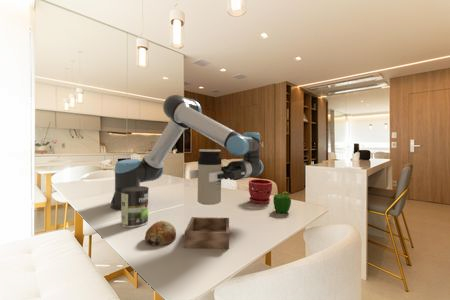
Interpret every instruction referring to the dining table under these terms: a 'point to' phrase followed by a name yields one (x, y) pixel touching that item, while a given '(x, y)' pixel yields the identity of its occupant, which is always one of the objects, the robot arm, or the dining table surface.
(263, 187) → the plant pot
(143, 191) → the coffee can
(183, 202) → the dining table surface
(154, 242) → the bread roll
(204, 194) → the travel mug
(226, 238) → the walnut crate
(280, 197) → the bell pepper
